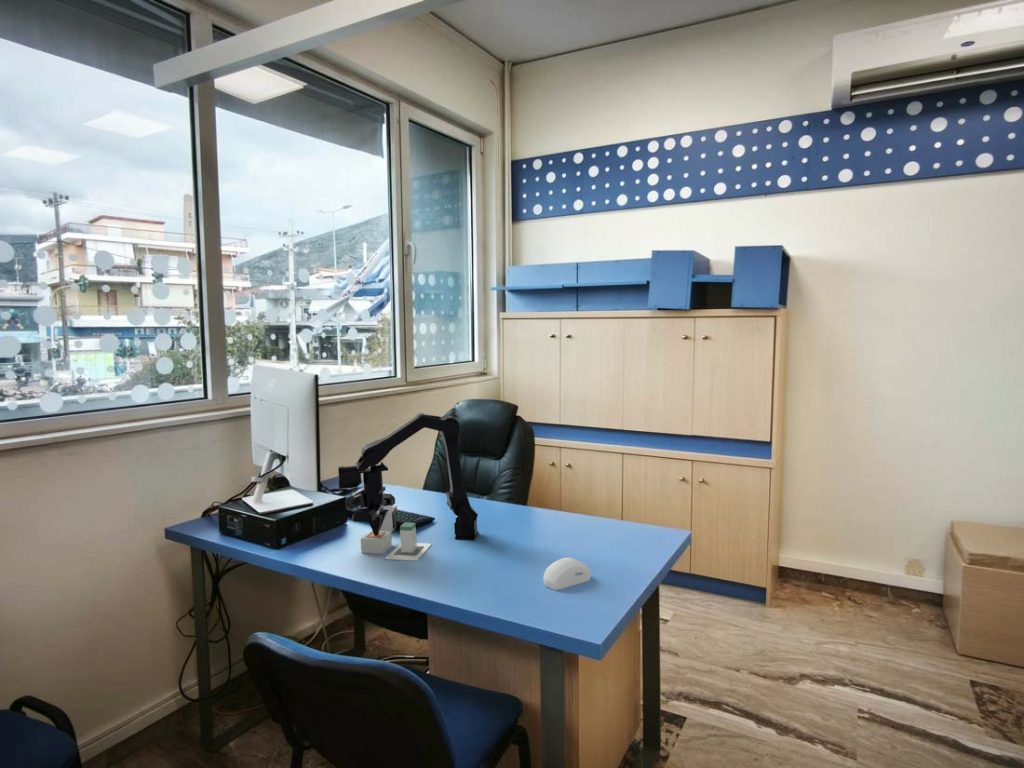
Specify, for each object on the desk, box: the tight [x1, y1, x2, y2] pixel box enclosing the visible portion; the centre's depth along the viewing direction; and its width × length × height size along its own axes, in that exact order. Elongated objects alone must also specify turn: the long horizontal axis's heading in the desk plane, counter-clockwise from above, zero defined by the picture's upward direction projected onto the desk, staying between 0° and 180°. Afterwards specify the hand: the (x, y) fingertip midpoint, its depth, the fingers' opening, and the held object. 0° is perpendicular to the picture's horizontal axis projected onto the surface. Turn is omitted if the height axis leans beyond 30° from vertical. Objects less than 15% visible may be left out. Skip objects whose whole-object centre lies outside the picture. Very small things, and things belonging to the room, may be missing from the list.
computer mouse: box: [542, 557, 592, 591], centre depth 161 cm, size 6×13×6 cm, turn 119°
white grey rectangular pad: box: [384, 542, 433, 562], centre depth 186 cm, size 10×13×1 cm
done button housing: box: [360, 530, 393, 555], centre depth 189 cm, size 7×7×4 cm
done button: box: [368, 533, 384, 538], centre depth 189 cm, size 4×4×2 cm
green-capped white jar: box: [399, 522, 417, 553], centre depth 185 cm, size 4×4×8 cm
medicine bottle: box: [380, 492, 398, 533], centre depth 207 cm, size 7×7×12 cm
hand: (376, 534), depth 189 cm, fingers closed, pressing on done button
